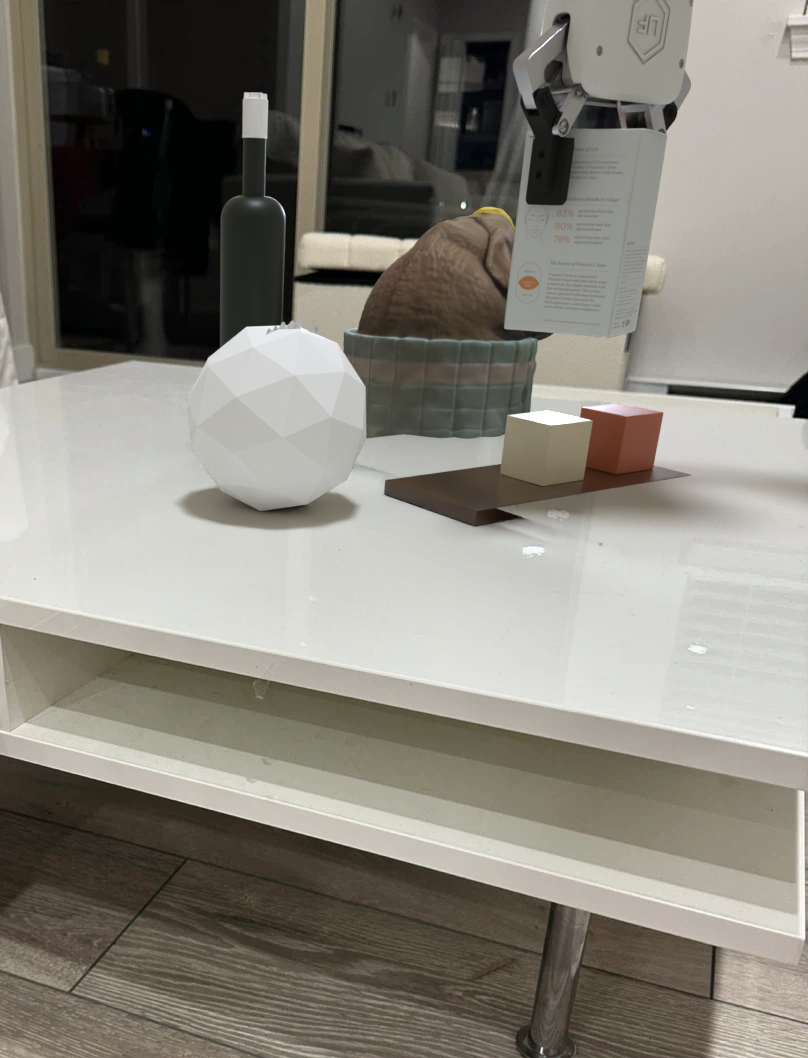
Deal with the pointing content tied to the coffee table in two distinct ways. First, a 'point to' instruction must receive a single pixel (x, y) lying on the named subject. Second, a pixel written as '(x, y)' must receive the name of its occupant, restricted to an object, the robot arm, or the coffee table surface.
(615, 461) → the terracotta cube
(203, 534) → the coffee table surface
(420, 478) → the dark brown board
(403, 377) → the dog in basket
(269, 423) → the geodesic sphere
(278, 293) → the wine bottle
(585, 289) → the small box
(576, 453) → the beige block
